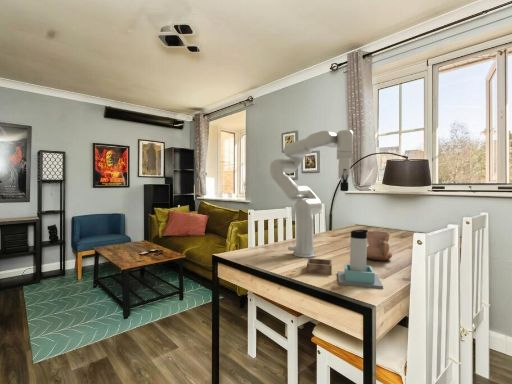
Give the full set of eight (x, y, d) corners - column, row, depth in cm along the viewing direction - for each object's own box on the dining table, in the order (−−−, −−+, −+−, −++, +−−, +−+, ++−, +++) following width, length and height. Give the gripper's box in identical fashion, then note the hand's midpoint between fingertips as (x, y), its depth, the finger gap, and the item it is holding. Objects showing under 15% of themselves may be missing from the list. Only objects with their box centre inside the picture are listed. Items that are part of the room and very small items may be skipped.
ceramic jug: (356, 254, 153) (356, 229, 152) (381, 254, 154) (381, 229, 153) (372, 265, 135) (373, 236, 134) (400, 264, 136) (401, 235, 135)
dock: (338, 284, 107) (339, 271, 107) (337, 273, 121) (337, 262, 121) (383, 288, 103) (383, 275, 103) (376, 276, 117) (377, 265, 116)
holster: (306, 272, 122) (306, 263, 121) (308, 266, 131) (308, 258, 131) (331, 274, 119) (331, 265, 119) (331, 268, 128) (331, 259, 128)
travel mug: (365, 281, 108) (366, 231, 107) (348, 278, 111) (349, 229, 111) (368, 277, 113) (369, 229, 113) (351, 274, 117) (352, 227, 116)
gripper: (336, 157, 143) (335, 190, 144) (337, 154, 126) (336, 191, 127) (351, 157, 141) (350, 190, 142) (354, 153, 124) (353, 191, 125)
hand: (344, 190), depth 134 cm, fingers open, 9 cm apart
